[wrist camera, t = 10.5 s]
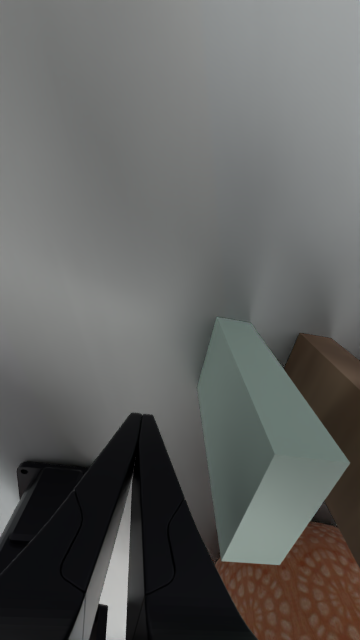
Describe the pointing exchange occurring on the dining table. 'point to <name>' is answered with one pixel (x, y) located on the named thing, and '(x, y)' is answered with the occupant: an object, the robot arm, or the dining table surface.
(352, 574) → the planter
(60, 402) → the dining table surface
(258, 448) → the domino
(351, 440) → the domino
